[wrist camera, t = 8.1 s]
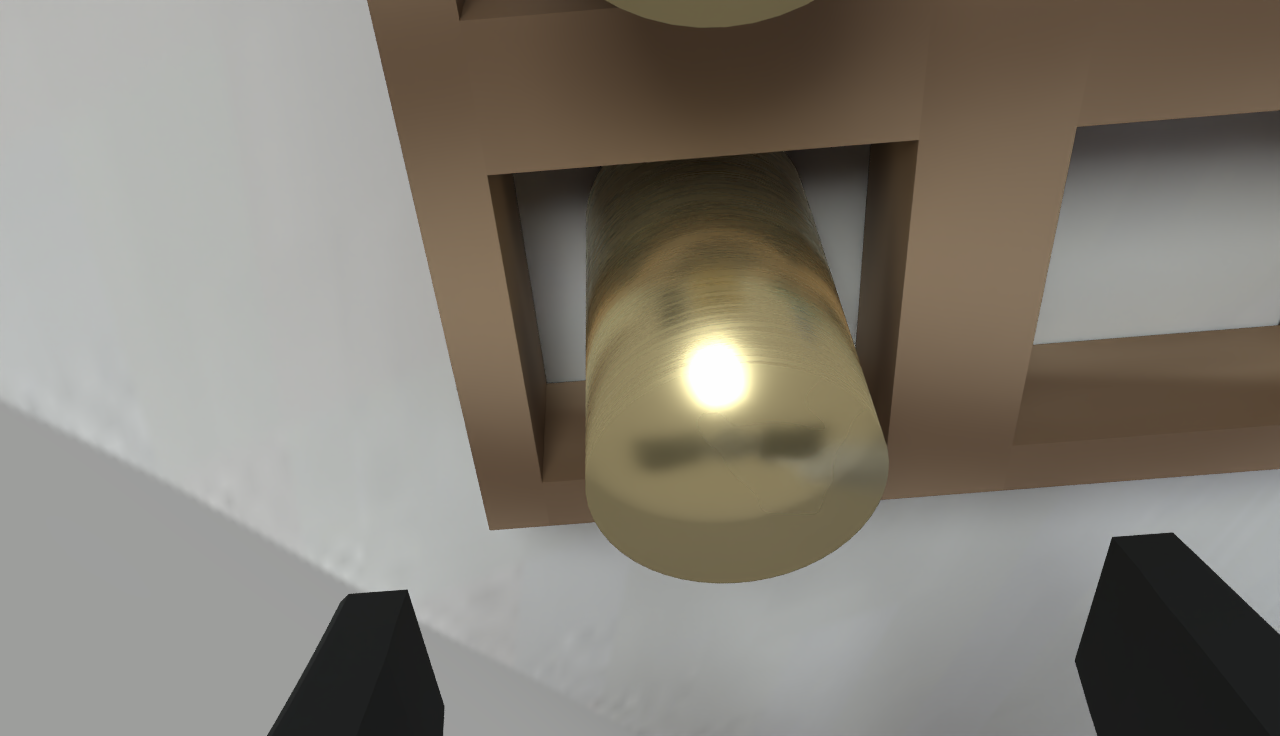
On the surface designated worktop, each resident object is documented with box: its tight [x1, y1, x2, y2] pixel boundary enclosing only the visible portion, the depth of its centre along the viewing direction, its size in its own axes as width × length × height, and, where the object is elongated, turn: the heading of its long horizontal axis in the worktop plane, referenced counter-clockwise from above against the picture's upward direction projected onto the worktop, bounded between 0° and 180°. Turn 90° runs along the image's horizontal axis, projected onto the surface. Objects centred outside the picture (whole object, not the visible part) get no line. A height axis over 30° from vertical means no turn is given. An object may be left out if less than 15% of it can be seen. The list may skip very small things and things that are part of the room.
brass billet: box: [585, 151, 889, 583], centre depth 15 cm, size 4×4×6 cm
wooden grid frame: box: [367, 0, 1280, 530], centre depth 14 cm, size 15×15×2 cm
